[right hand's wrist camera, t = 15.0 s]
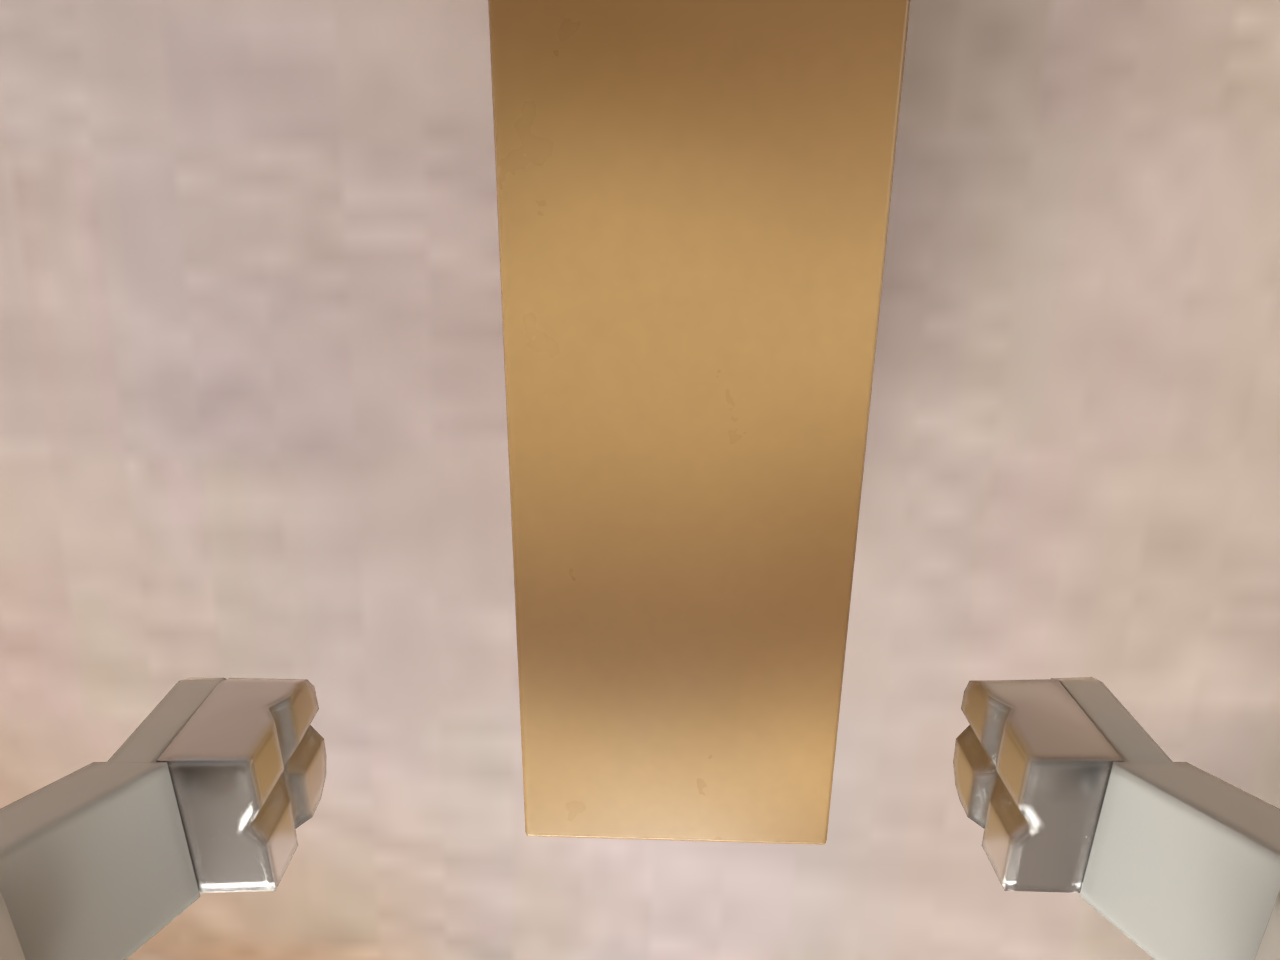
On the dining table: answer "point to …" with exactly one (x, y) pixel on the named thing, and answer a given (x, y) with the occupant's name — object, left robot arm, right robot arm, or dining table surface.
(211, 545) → the dining table surface
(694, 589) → the bar
